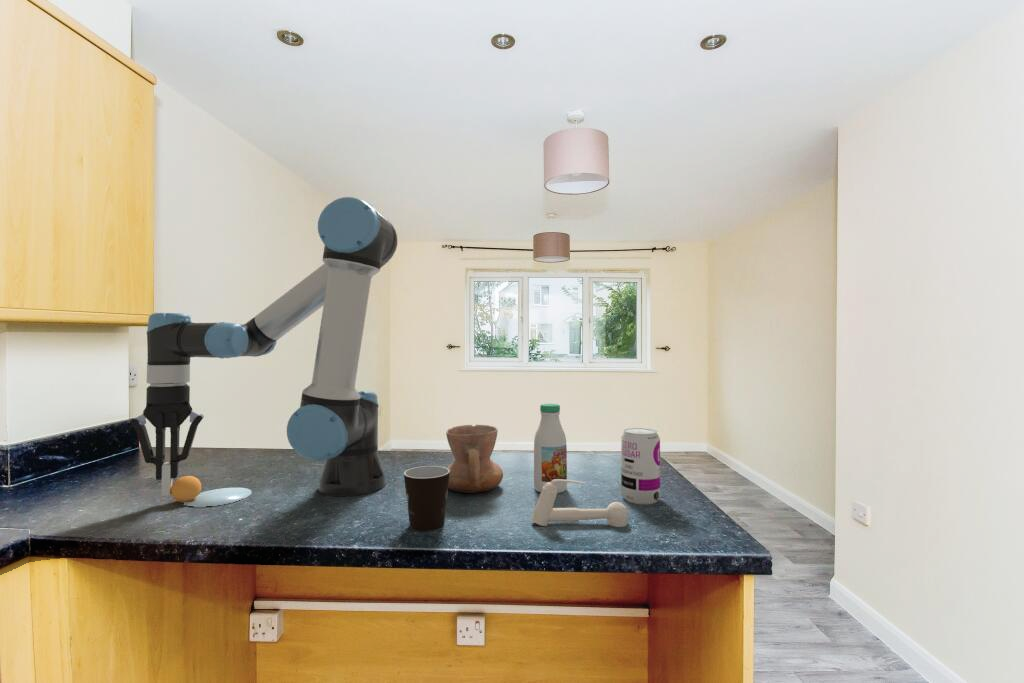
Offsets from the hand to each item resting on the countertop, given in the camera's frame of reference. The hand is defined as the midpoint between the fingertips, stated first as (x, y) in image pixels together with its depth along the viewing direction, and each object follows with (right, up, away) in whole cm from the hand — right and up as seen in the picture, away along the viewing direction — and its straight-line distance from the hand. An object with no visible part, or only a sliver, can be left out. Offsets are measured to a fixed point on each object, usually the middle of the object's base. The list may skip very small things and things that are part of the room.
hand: (166, 493), depth 100 cm
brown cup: (+59, -2, -11) cm, 60 cm away
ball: (+3, 0, +2) cm, 3 cm away
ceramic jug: (+65, -2, +10) cm, 66 cm away
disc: (+8, -2, +4) cm, 10 cm away
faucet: (+87, -2, -12) cm, 88 cm away
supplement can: (+103, -2, +2) cm, 103 cm away
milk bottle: (+84, -2, +9) cm, 84 cm away
